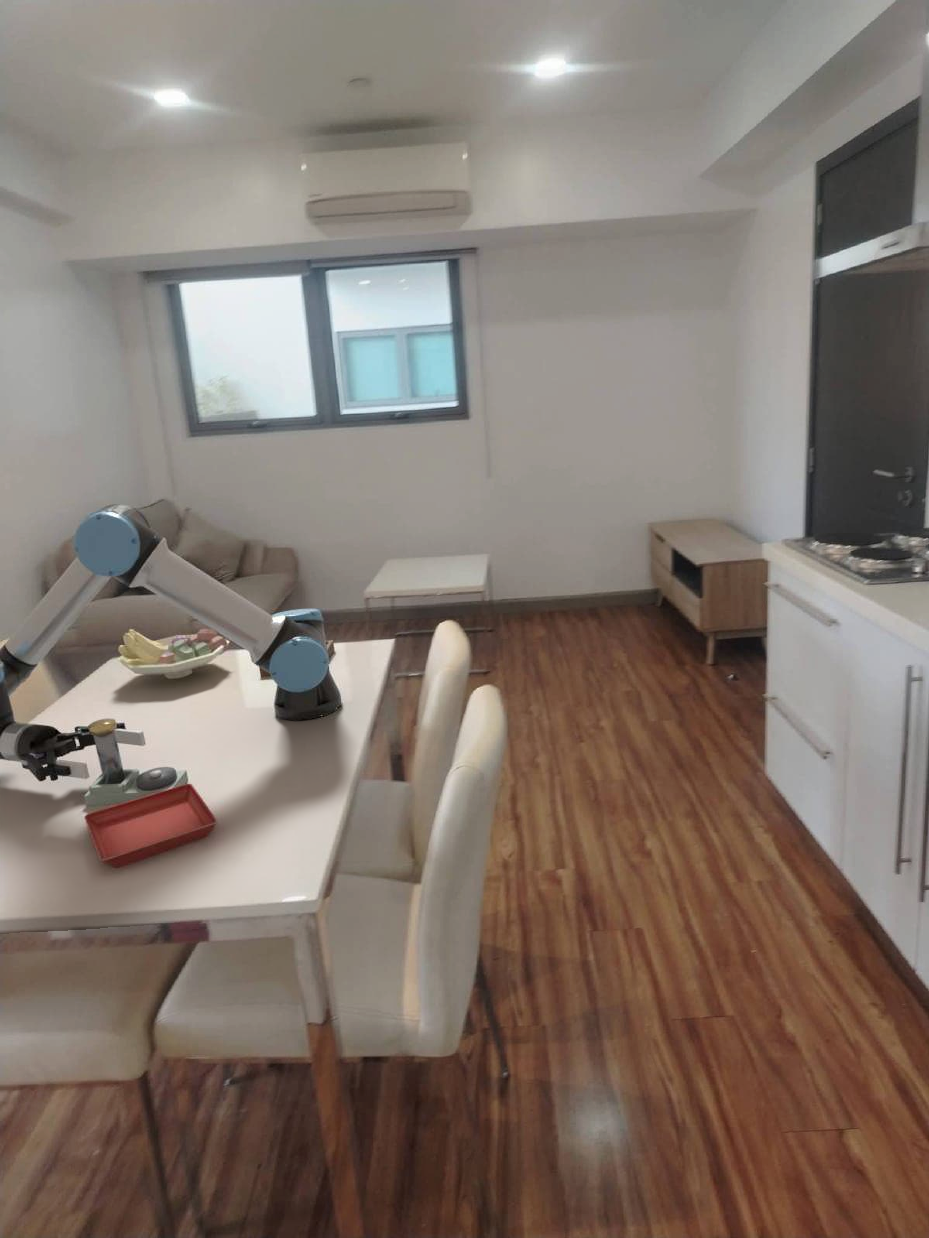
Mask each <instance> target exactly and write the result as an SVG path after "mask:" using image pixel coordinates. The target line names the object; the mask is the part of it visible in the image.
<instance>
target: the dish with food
mask: <svg viewBox="0 0 929 1238" xmlns="http://www.w3.org/2000/svg"><path fill="white" fill-rule="evenodd" d="M122 639H123V643H124V645H122V644H121V645H119V646H118V648H117V650H118V652H119V653H120V655H121V656H119V657H117V661H119V663H121V664H122V666H124V667H126V668H127V669H128V670H130V671H132V672H133V673H134V674H138V675H146V676H148V675H149V676H150V675H164V676H165V678H167V679H172V680H173V679H181V678H185V677H187V676H188V677H189V675H191V674H192V673H193V669H196V668H200V667H203V666H206V665H207V664H209V663H210V662H211V663H212V661H213V660H215V659H216V658H217V657H218V656H222V654H224V653H225V652H227V651H228V647H229V644H230V641H231V640H229V639H227V638H226V639H225V636H220V635H218V632H217V631H215V630H213V629H212V628H200V630H199V631H197V633H194V634H193V633H192V634H178V635H177V634H176V635H173V636H168V637H164V638H161V639H160V638H159V639H157V640H152V639H149V638H147V637H146V636H144V635H143V634H141V633H139V632H137V631H135V630H134V629H132V628H131V629H129V630H128V632H125V633H124V634H123V636H122Z"/></svg>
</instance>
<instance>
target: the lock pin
mask: <svg viewBox="0 0 929 1238" xmlns="http://www.w3.org/2000/svg"><path fill="white" fill-rule="evenodd" d="M116 723H117V722H116V719H114V718H103V719H99V720H96V721H93V722H91V723H89V724H88V728H89V733H90V734H91V735H93V736H94V741H95V745H94V746H95V749H96V753H97V759H98V761H99V765H100V771H101V774H102V776H103V780H104V784H105V785H106V784H121V783H122V782H123V781H124V780H125V776H124V771H123V770H124V767H123V763H122V758H121V754H120V747H119V743H117V739H116V735H115V729H116V728H117V725H116Z"/></svg>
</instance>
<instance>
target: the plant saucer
mask: <svg viewBox="0 0 929 1238" xmlns="http://www.w3.org/2000/svg"><path fill="white" fill-rule="evenodd" d="M84 821H85V823H86V825H87V828H88V831H89V835H90V837H91V839H92V842H93V844H94V847H95V851H96V852H97V856H98V858H99V860H100V861H101V862H102V863H104V864H106V865H108V866H111V867H113V868H120V867H123V866H126V865H129V864H131V863H135V862H139V860H143V859H146V858H148V857H152V856H154V855H157V854H160V853H163V852H167V851H169V850H172V849H174V848H178V847H180V846H183V845H187V844H189V843H193V842H195V841H198V840H201V839H204V838H206V837H207V836H208V835H209V834H210V833H211V832H212V830H213V829H215V826H217V825H216V824H217V823H218V819H217V817H215V814H214V813H213V812H212V810H211V809H210V808H209V806H208V805H207V804H206V802H205V801H204V799H203V797H201V795H200V794H199V792H198V791H197V789H196V788H195V787H194V785H193V784H192V783H185V784H184V785H181V786H178V787H174V788H171V789H168V790H165V791H161V792H158V793H155V794H151V795H148V796H145V797H141V798H138V799H135V800H131V801H128V802H125V803H122V804H114V805H112V806H110V807H106V808H103V809H100V810H96V811H92V812H89V813H87V814H85V815H84Z"/></svg>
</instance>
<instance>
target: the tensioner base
mask: <svg viewBox="0 0 929 1238" xmlns="http://www.w3.org/2000/svg"><path fill="white" fill-rule="evenodd" d="M123 771H124V776H125V780H124V781H123V782H122V783H121V784H106V785H105V784H104V780H103V776H102V773H101V774H100V775H99V776H98V777H97V778H96V779H95V780H94V781H93V782H92V783H91V784H90V785H88V789H89V790H88V791H87V793H85V794H84V795H83V797H84V801H85V805H86V806H87V807H89V806H103V805H104V806H105V805H118V804H122V803H125V802H128V801H131V800H135V799H138V798H141V797H145V796H148V795H151V794H155V793H158V792H161V791H165V790H168V789H171V788H174V787H178V786H181V785H184V784H187V783H188V781H189V777H188V772H187V770H184V769H183V770H176V769H175V768H174V767H171V766H161V767H155V768H152V769H149V770H146V771H144V772H140V770H139V769H137V768H129V769H128V768H127V769H126V768H125V769H123Z"/></svg>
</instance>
